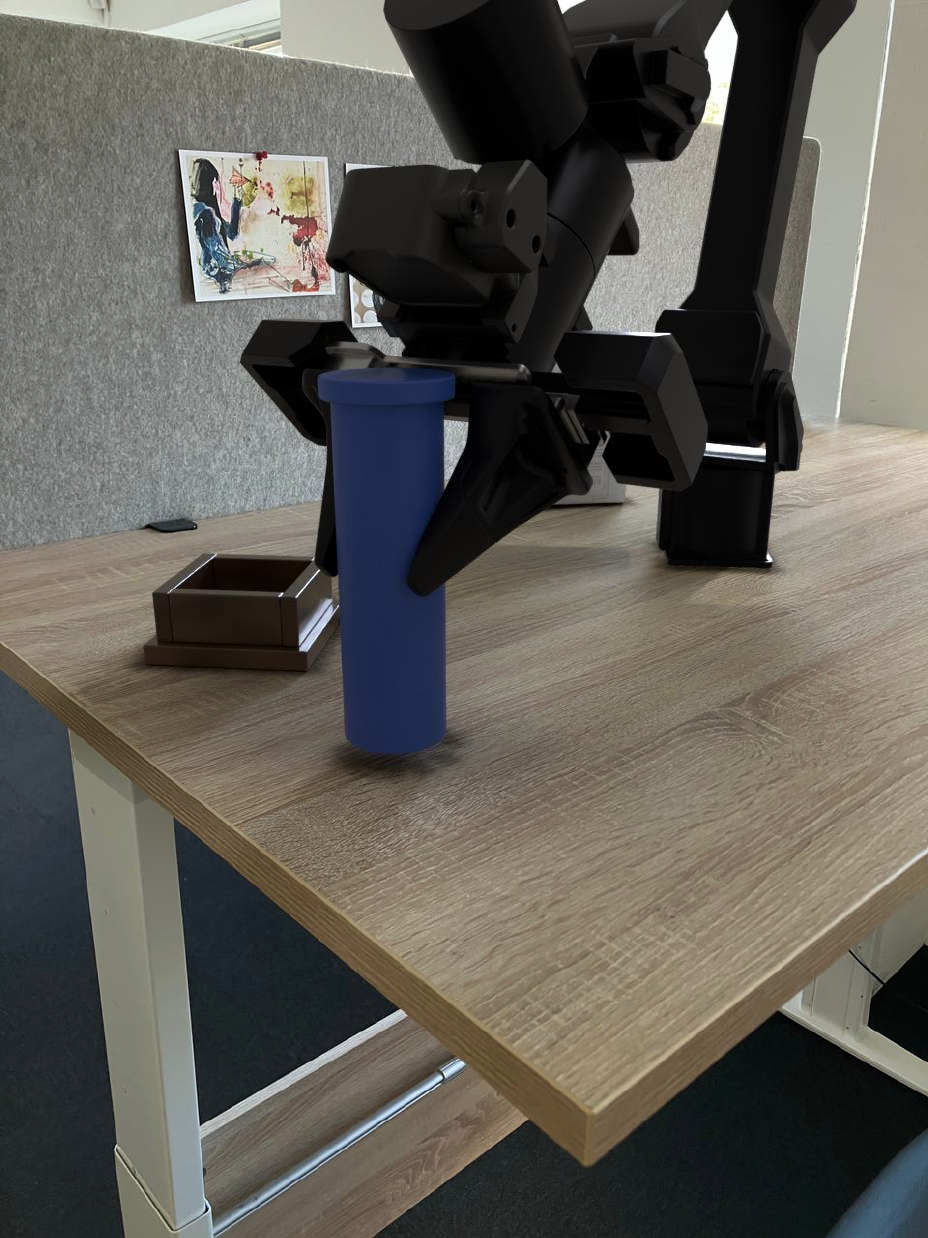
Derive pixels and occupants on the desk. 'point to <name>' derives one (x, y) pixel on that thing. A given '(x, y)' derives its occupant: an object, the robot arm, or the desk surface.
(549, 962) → the desk surface
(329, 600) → the holder
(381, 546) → the blue capped tube
